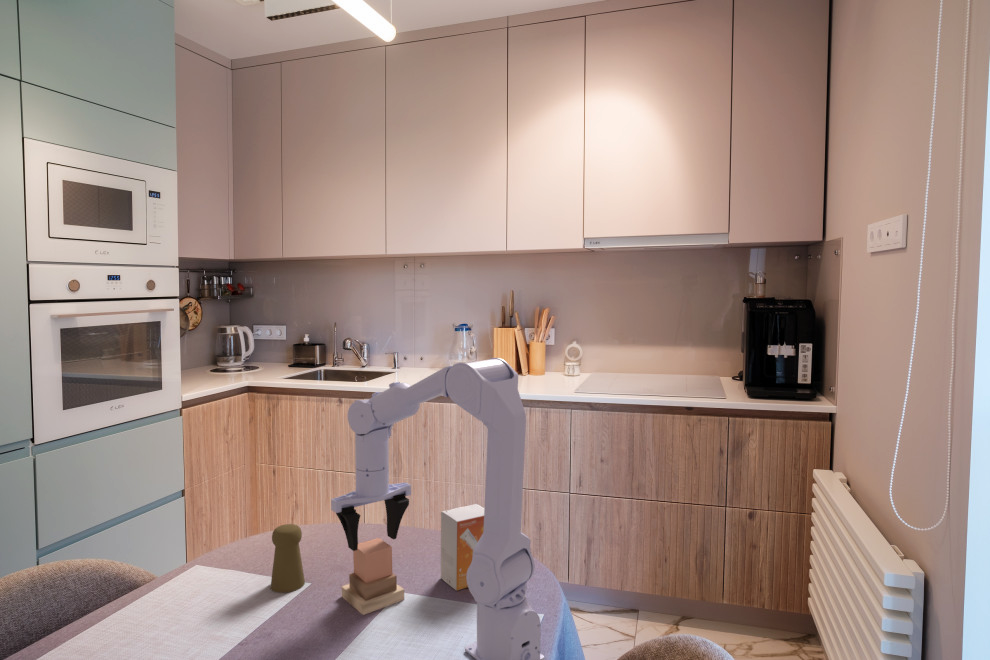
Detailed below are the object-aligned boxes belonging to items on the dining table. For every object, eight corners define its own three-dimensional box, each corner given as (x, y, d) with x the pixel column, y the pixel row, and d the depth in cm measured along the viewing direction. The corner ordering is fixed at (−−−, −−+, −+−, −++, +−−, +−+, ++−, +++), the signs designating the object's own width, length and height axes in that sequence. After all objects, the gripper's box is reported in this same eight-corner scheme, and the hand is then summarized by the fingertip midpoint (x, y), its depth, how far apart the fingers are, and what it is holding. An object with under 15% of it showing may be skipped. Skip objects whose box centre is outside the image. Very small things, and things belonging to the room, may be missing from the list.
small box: (456, 592, 108) (456, 521, 108) (439, 578, 114) (439, 510, 113) (493, 580, 113) (494, 512, 112) (476, 567, 118) (476, 502, 117)
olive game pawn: (262, 588, 109) (261, 529, 109) (288, 574, 115) (287, 518, 114) (286, 595, 107) (285, 535, 106) (311, 581, 112) (311, 523, 111)
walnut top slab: (396, 589, 105) (396, 575, 105) (365, 600, 101) (365, 586, 101) (379, 577, 110) (379, 564, 110) (349, 587, 106) (349, 573, 106)
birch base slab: (404, 603, 106) (404, 589, 105) (363, 618, 100) (363, 604, 100) (381, 586, 112) (381, 572, 112) (341, 599, 107) (341, 586, 106)
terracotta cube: (392, 574, 105) (391, 546, 105) (366, 583, 102) (365, 554, 102) (379, 564, 109) (378, 537, 109) (353, 572, 106) (353, 545, 106)
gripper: (397, 455, 112) (397, 526, 113) (323, 469, 103) (324, 546, 104) (417, 463, 107) (417, 537, 108) (341, 478, 98) (341, 560, 99)
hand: (372, 542), depth 106 cm, fingers open, 7 cm apart
